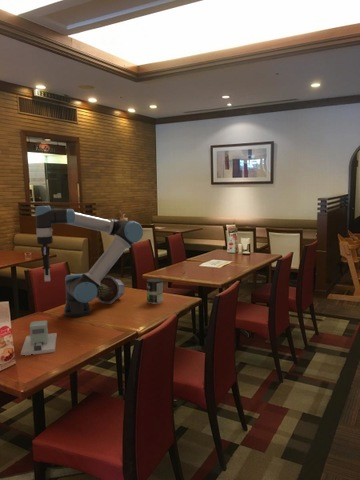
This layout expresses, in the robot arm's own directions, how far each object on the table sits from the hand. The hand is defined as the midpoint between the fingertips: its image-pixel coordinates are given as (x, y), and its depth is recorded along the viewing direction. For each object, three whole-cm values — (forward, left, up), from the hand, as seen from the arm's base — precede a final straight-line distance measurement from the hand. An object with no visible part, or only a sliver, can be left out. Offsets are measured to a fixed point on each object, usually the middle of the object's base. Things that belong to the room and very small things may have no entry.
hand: (47, 280), depth 203 cm
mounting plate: (+3, +26, -24) cm, 36 cm away
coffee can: (-62, -27, -25) cm, 72 cm away
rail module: (+3, +26, -23) cm, 35 cm away
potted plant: (-31, -32, -25) cm, 51 cm away
